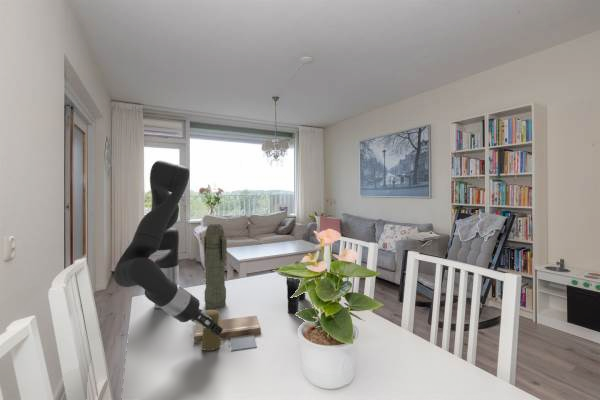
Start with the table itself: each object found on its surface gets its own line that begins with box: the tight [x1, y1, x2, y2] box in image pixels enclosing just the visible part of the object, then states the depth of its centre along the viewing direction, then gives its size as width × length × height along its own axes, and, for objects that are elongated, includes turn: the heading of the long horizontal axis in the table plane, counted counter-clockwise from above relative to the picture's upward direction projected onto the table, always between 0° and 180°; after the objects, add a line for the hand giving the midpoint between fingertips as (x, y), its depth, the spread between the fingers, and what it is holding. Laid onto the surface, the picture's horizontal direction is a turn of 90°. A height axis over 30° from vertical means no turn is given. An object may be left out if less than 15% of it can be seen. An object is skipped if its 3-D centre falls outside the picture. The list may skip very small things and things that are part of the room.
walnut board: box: [193, 315, 262, 343], centre depth 104 cm, size 22×10×2 cm, turn 107°
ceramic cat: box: [286, 261, 306, 315], centre depth 125 cm, size 20×6×20 cm, turn 165°
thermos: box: [203, 223, 228, 310], centre depth 125 cm, size 9×12×35 cm
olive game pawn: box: [200, 309, 222, 351], centre depth 93 cm, size 6×6×11 cm
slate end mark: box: [229, 334, 258, 352], centre depth 96 cm, size 8×8×1 cm
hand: (216, 329), depth 94 cm, fingers closed on olive game pawn, 4 cm apart
